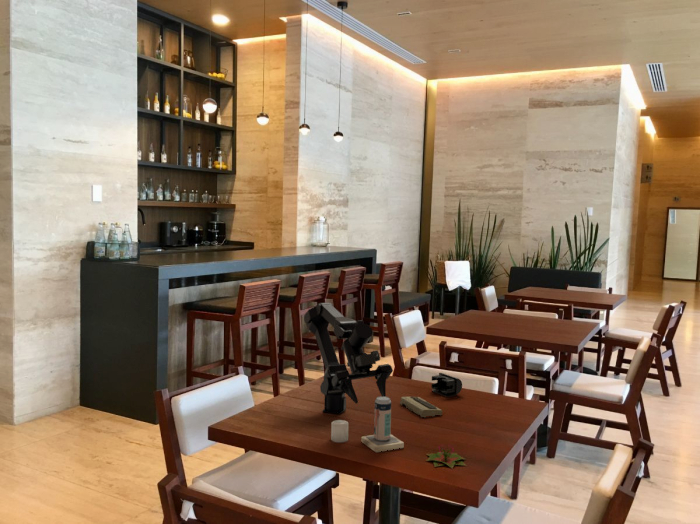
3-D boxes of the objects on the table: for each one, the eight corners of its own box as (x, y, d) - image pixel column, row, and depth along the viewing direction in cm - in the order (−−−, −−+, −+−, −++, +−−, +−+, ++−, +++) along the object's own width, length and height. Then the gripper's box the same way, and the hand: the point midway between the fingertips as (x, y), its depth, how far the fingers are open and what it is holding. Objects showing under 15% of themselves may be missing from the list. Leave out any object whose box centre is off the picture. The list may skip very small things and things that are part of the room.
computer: (442, 416, 204) (443, 406, 203) (421, 418, 201) (422, 409, 200) (419, 403, 218) (420, 394, 218) (399, 405, 215) (400, 396, 215)
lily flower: (460, 452, 172) (460, 437, 172) (474, 470, 160) (474, 453, 160) (418, 454, 170) (419, 438, 170) (430, 471, 158) (430, 454, 158)
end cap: (462, 395, 228) (462, 377, 227) (447, 398, 224) (448, 379, 223) (444, 388, 236) (445, 371, 236) (430, 391, 232) (430, 373, 232)
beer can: (376, 435, 179) (377, 395, 178) (392, 437, 177) (393, 396, 176) (372, 440, 174) (372, 399, 173) (388, 442, 173) (389, 401, 172)
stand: (361, 441, 178) (361, 436, 178) (388, 437, 182) (388, 432, 182) (376, 452, 170) (376, 446, 170) (403, 447, 174) (403, 442, 173)
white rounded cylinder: (328, 441, 178) (329, 424, 177) (334, 435, 183) (334, 419, 182) (345, 443, 176) (345, 426, 176) (350, 437, 181) (350, 421, 181)
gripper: (334, 345, 181) (350, 393, 173) (390, 338, 189) (407, 383, 180) (325, 364, 190) (339, 410, 181) (378, 356, 197) (394, 400, 189)
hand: (370, 400), depth 183 cm, fingers open, 9 cm apart
